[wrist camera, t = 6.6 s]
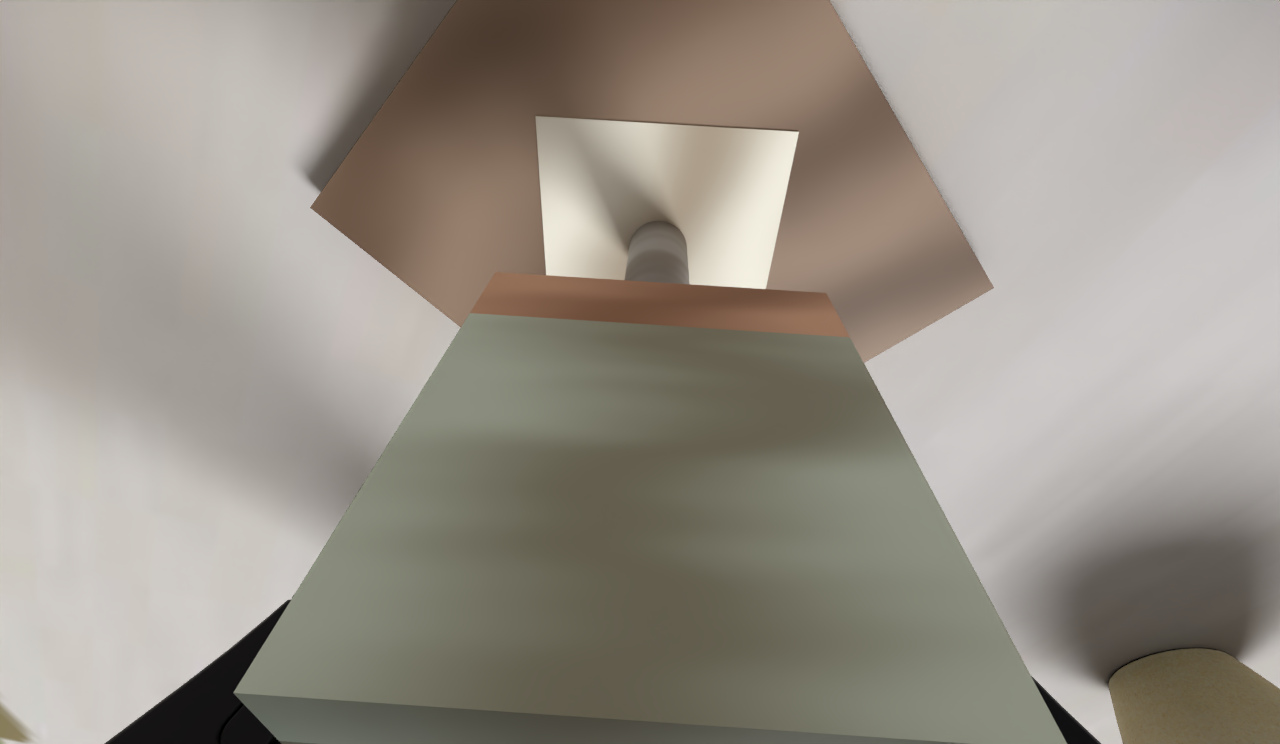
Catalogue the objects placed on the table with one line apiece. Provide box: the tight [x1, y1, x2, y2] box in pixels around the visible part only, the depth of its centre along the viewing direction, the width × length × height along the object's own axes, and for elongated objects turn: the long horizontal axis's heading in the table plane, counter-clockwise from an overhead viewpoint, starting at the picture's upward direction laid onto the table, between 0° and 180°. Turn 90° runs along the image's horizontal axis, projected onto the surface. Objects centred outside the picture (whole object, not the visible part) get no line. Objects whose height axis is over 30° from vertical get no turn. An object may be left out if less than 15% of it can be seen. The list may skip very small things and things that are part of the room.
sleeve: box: [233, 272, 1067, 744], centre depth 8 cm, size 6×6×7 cm
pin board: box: [310, 0, 994, 363], centre depth 16 cm, size 18×16×7 cm
